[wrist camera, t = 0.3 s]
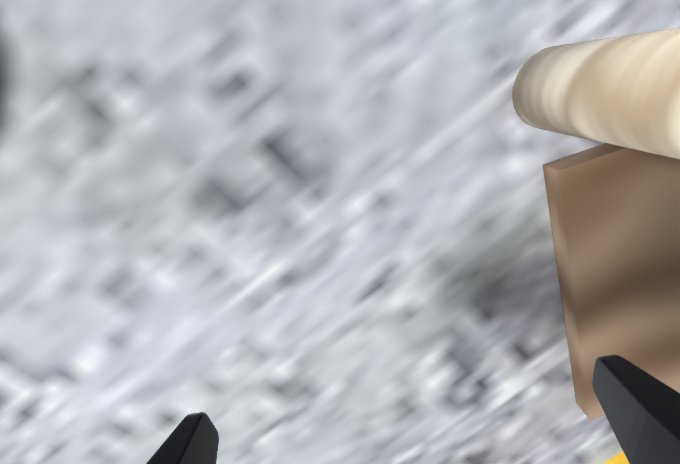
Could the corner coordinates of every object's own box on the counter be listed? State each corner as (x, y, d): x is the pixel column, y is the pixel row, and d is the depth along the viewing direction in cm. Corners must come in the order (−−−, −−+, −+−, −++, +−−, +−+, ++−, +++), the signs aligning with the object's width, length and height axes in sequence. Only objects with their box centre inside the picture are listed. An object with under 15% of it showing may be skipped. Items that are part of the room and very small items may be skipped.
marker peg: (592, 112, 20) (960, 157, 8) (519, 138, 20) (776, 215, 9) (585, 33, 19) (1020, -44, 7) (506, 62, 19) (795, 34, 7)
